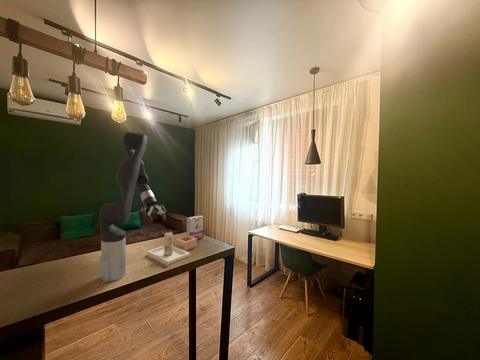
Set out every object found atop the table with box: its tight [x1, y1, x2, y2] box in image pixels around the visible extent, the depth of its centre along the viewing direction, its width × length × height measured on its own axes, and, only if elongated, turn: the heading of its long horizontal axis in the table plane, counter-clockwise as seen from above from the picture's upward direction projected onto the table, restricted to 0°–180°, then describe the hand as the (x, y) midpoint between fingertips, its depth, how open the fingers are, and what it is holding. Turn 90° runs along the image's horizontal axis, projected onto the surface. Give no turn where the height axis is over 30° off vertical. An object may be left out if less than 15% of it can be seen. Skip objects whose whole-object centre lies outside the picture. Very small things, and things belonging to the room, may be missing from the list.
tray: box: [146, 245, 191, 267], centre depth 111 cm, size 14×20×2 cm
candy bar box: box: [186, 215, 204, 240], centre depth 139 cm, size 11×5×16 cm, turn 132°
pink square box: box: [174, 234, 198, 252], centre depth 123 cm, size 9×9×6 cm
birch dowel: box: [163, 232, 174, 256], centre depth 111 cm, size 4×4×12 cm
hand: (158, 220), depth 117 cm, fingers open, 8 cm apart
